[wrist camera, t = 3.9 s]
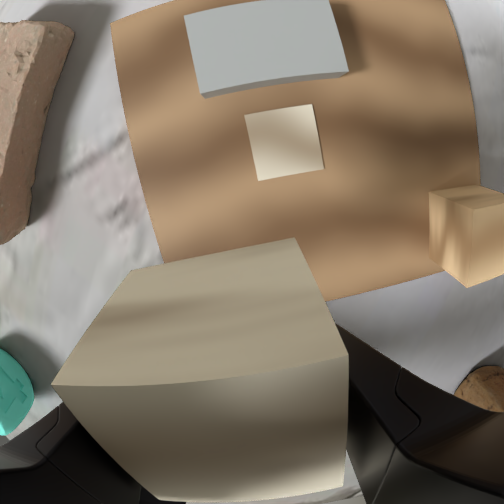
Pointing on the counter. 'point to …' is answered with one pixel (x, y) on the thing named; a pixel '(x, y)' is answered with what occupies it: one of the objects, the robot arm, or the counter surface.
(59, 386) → the birch cube
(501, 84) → the counter surface
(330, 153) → the baseplate
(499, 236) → the maple cube
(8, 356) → the decorative dice
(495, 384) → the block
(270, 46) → the grey slab
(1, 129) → the brick
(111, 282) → the counter surface
